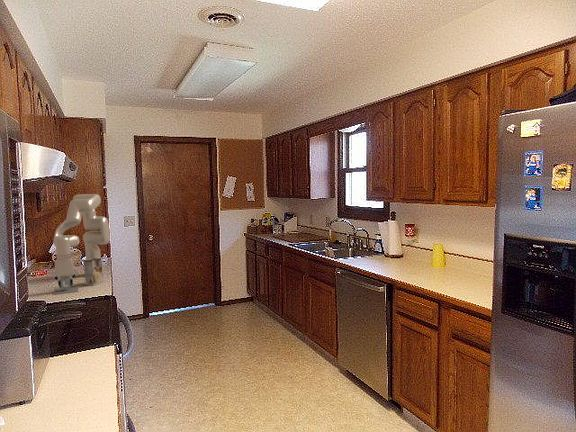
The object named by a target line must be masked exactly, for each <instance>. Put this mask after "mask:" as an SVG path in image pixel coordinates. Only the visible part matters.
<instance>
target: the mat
mask: <svg viewBox="0 0 576 432" xmlns="http://www.w3.org/2000/svg"><path fill="white" fill-rule="evenodd" d="M77 292H79V286H78V285H77V286H71V287H70V288H62V289H61V288H55V289H54V290H53V294H52V295H53V296H57V295H61V294H62V295H63V294H71V293H77Z"/></svg>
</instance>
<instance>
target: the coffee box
mask: <svg viewBox="0 0 576 432" xmlns="http://www.w3.org/2000/svg"><path fill="white" fill-rule="evenodd" d="M83 269H84V281H85V282H84V283H85V286H95V285H98V284H101V283H103V282H104V277H103V275H104V274H103V275H102V271H103V265H102V258H93V259H89V260H86V259H85V260H83Z"/></svg>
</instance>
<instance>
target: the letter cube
mask: <svg viewBox="0 0 576 432" xmlns="http://www.w3.org/2000/svg"><path fill="white" fill-rule="evenodd" d="M60 281H61V287H60V289H62V288H70V287H72V286H70V277H66V278H60Z"/></svg>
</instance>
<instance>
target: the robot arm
mask: <svg viewBox="0 0 576 432" xmlns="http://www.w3.org/2000/svg"><path fill="white" fill-rule="evenodd" d="M101 200H102V199H101V196H100V195H99V194H98V193H81V194H78V193H77V194H75V195H73V198H72V200H71V201H70V202H69V205H68V209H67V214H66V218H65V220H64V221H62V222H61V223H60V224H59V226H57V228H56V230H55V231H54V235H53V239H52V240H53V245H54V247H55V253H56V254H55V255H56V256H55V257H56V259H55V260H54V271H53V272H52V274H51V275H50V276H51V278H53V279H54V280H56V281H57V284H58V287H59V288H61V281H60V280H61V278H62V277H63V276H69V278H70V286H71V287H73V286H72V285H73V284H74V283H73V282H74V281H73V279H74V278H76V276H78V274H79V272H78V270H76V269H75V265H74V264H75V263H74V260H73V257H74V254H72V253H71V248H76V247H77V246H78V245H79V244H80V237H79V236H77V235H75V234H69V235H68V234H66V235H65V232H66V231H67V230H69V229H72V228H73V227H75V226H78V225H80V224H81V222H83V227H84V229H85V230H88V231H86V232H84V234H83V236H82V240H83V244H84V248H85V249H84V250H85V261H86V260H89V259H93V258H101V249H100V247H99V246H98V245H108V244H109V243H110V241H111V233H110V224H109V220H108V218H107V217H106V216H104V215H103V216H101V215H100V216H97V213H96V209H97V208H98V207H99V206H100V205H101V203H102V201H101ZM98 230H99V231H98ZM101 259H102V258H101ZM102 275H105V271H103V270H102Z"/></svg>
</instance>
